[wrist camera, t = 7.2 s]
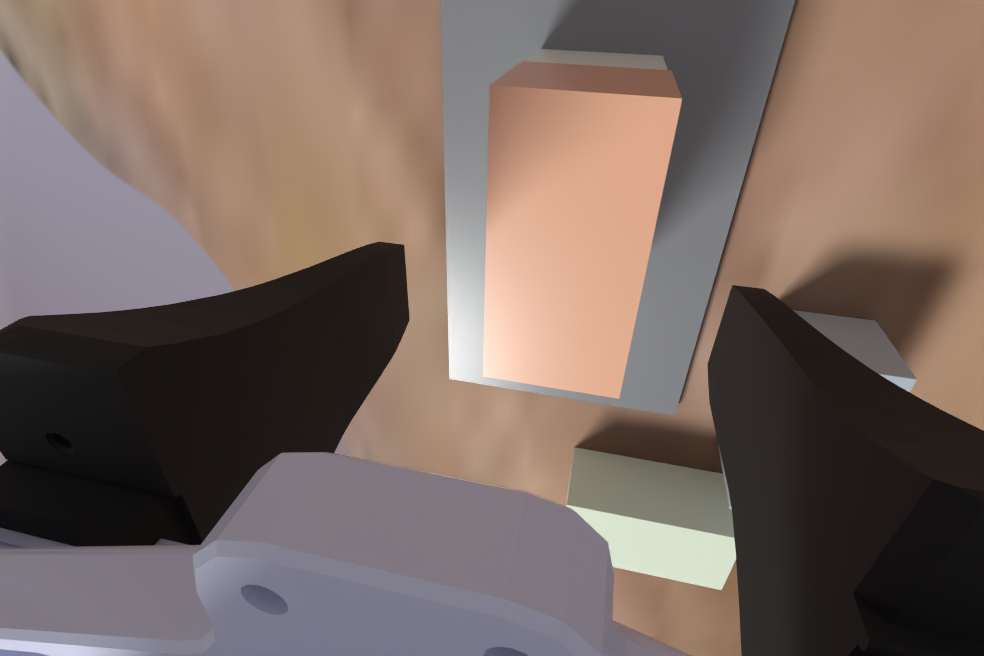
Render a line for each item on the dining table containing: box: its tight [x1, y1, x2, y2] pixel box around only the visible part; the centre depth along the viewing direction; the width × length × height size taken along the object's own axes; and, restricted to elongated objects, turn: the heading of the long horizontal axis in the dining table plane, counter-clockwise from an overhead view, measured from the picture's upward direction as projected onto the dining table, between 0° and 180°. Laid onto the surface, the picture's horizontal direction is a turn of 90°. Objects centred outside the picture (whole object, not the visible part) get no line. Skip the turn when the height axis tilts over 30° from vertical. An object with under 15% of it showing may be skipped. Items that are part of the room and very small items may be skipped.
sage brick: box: [566, 447, 736, 590], centre depth 27 cm, size 8×4×4 cm, turn 89°
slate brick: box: [718, 310, 917, 509], centre depth 22 cm, size 8×4×4 cm, turn 179°
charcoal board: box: [441, 0, 795, 416], centre depth 20 cm, size 22×11×1 cm, turn 179°
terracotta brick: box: [483, 61, 682, 399], centre depth 15 cm, size 8×4×4 cm, turn 179°
